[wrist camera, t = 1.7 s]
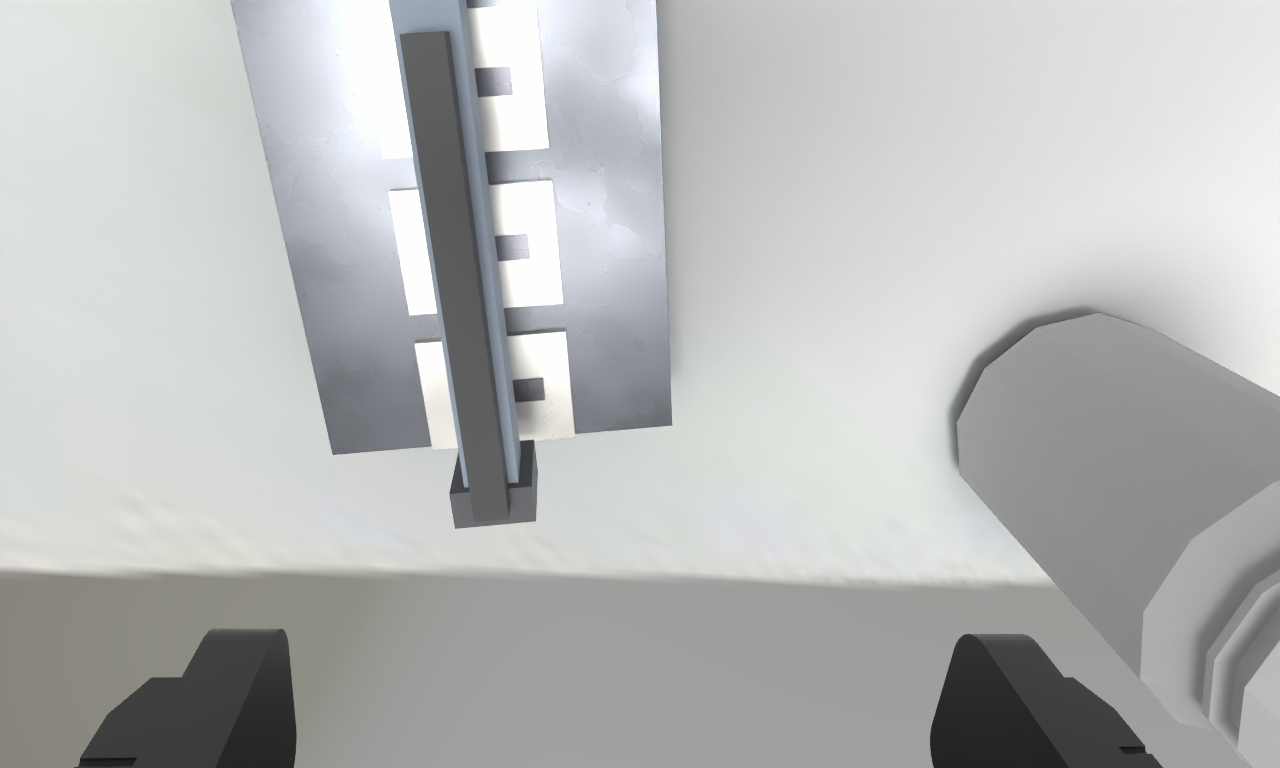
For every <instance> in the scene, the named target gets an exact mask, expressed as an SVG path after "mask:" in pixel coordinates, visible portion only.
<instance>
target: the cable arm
mask: <svg viewBox="0 0 1280 768" xmlns="http://www.w3.org/2000/svg"><path fill="white" fill-rule="evenodd" d="M388 2H389V8H390V14H391V21H392V27H393V34H394V40H395V47H396V53H397V59H398V66H399V72H400V79H401V85H402V91H403V98H404V104H405V111H406V117H407V124H408V130H409V136H410V143H411V149H412V156H413V162H414V168H415V175H416V181H417V188H418V194H419V201H420V207H421V213H422V220H423V226H424V233H425V239H426V245H427V252H428V258H429V265H430V271H431V278H432V284H433V290H434V297H435V303H436V310H437V316H438V322H439V329H440V335H441V342H442V348H443V355H444V361H445V367H446V374H447V380H448V387H449V393H450V399H451V406H452V412H453V419H454V425H455V432H456V438H457V444H458V451H459V452H458V457H457V461H456V466H455V471H454V475H453V480H452V485H451V489H450V501H451V507H452V513H453V519H454V525H455V529H457V528H468V527H478V526H489V525H500V524H511V523H521V522H532V521H536V504H537V476H538V470H537V461H536V453H535V444H534V440H522V441H520V439H519V431H518V422H517V414H516V406H515V398H514V389H513V381H512V373H511V365H510V356H509V348H508V340H507V332H506V324H505V315H504V307H503V299H502V291H501V282H500V274H499V266H498V258H497V249H496V241H495V233H494V225H493V217H492V208H491V200H490V192H489V184H488V175H487V167H486V159H485V151H484V143H483V134H482V126H481V118H480V110H479V101H478V93H477V85H476V77H475V68H474V60H473V52H472V44H471V36H470V27H469V19H468V11H467V3H466V0H388Z"/></svg>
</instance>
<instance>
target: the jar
mask: <svg viewBox="0 0 1280 768" xmlns="http://www.w3.org/2000/svg"><path fill="white" fill-rule="evenodd" d="M957 436H958V452H959V469H960V475H961V476H962V477H963V479H964V480H965V481H966V482H967V483H968V484H969V486H970V487H971V488H972V489H973V490H974V491H975V493H976V494H977V495H978V496H979V497H980V498H981V499H982V501H983V502H984V503H985V504H986V505H987V506H988V508H989V509H990V510H991V511H992V512H993V513H994V514H995V516H996V517H997V518H998V519H999V520H1000V521H1001V522H1002V524H1003V525H1004V526H1005V527H1006V528H1007V529H1008V530H1009V531H1010V533H1011V534H1012V535H1013V536H1014V537H1015V538H1016V539H1017V541H1018V542H1019V543H1020V544H1021V545H1022V546H1023V547H1024V548H1025V550H1026V551H1027V552H1028V553H1029V554H1030V555H1031V556H1032V558H1033V559H1034V560H1035V561H1036V562H1037V563H1038V564H1039V566H1040V567H1041V568H1042V569H1043V570H1044V571H1045V572H1046V573H1047V575H1048V576H1049V577H1050V578H1051V579H1052V580H1053V581H1054V583H1055V584H1056V585H1057V586H1058V587H1059V588H1060V589H1061V590H1062V592H1063V593H1064V594H1065V595H1066V596H1067V597H1068V598H1069V600H1070V601H1071V602H1072V603H1073V604H1074V605H1075V606H1076V607H1077V609H1078V610H1079V611H1080V612H1081V613H1082V614H1083V615H1084V617H1085V618H1086V619H1087V620H1088V621H1089V622H1090V623H1091V624H1092V626H1093V627H1094V628H1095V629H1096V630H1097V631H1098V632H1099V634H1100V635H1101V636H1102V637H1103V638H1104V639H1105V640H1106V641H1107V643H1108V644H1109V645H1110V646H1111V647H1112V648H1113V650H1114V651H1115V652H1116V653H1117V654H1118V655H1119V656H1120V657H1121V659H1122V660H1123V661H1124V662H1125V663H1126V664H1127V665H1128V667H1129V668H1130V669H1131V670H1132V671H1133V672H1134V673H1135V674H1136V675H1137V677H1138V678H1139V679H1140V680H1141V681H1142V682H1143V684H1144V685H1145V686H1146V687H1147V688H1148V689H1149V690H1150V692H1151V693H1152V694H1153V695H1154V696H1155V697H1156V698H1157V699H1158V701H1159V702H1160V703H1161V704H1162V705H1163V706H1164V707H1165V709H1166V710H1167V711H1168V712H1169V713H1170V714H1171V715H1172V716H1173V718H1174V719H1175V720H1176V721H1177V722H1178V723H1182V724H1187V725H1191V726H1196V727H1201V728H1205V729H1210V730H1214V731H1218V733H1219V734H1220V735H1221V736H1222V737H1223V738H1224V740H1225V741H1226V742H1227V743H1228V745H1229V746H1230V747H1231V748H1232V749H1233V751H1234V752H1235V753H1236V754H1237V755H1238V756H1239V757H1240V758H1241V759H1242V760H1247V761H1248V763H1249V764H1250V765H1251V766H1252V767H1253V768H1280V397H1279V396H1277V395H1276V394H1274V393H1272V392H1270V391H1268V390H1266V389H1264V388H1262V387H1260V386H1258V385H1257V384H1255V383H1253V382H1251V381H1249V380H1247V379H1245V378H1243V377H1241V376H1240V375H1238V374H1236V373H1234V372H1232V371H1230V370H1228V369H1226V368H1224V367H1223V366H1221V365H1219V364H1217V363H1215V362H1213V361H1211V360H1209V359H1207V358H1205V357H1204V356H1202V355H1200V354H1198V353H1196V352H1194V351H1192V350H1190V349H1188V348H1187V347H1185V346H1183V345H1181V344H1179V343H1177V342H1175V341H1173V340H1171V339H1170V338H1168V337H1166V336H1164V335H1162V334H1160V333H1158V332H1156V331H1154V330H1153V329H1150V328H1147V327H1144V326H1140V325H1137V324H1134V323H1131V322H1128V321H1125V320H1121V319H1118V318H1115V317H1112V316H1109V315H1105V314H1102V313H1095V314H1091V315H1086V316H1082V317H1078V318H1074V319H1069V320H1065V321H1061V322H1057V323H1052V324H1048V325H1044V326H1040V327H1036V328H1035V329H1034V330H1033V331H1031V332H1030V333H1029V334H1028V335H1026V336H1025V337H1024V338H1022V339H1021V340H1020V341H1019V342H1017V343H1016V344H1015V345H1014V346H1012V347H1011V348H1010V349H1008V350H1007V351H1006V352H1005V353H1003V354H1002V355H1001V356H999V357H998V358H997V359H996V360H994V361H993V362H992V363H991V364H989V365H988V366H987V367H985V368H984V370H983V372H982V374H981V376H980V378H979V380H978V382H977V384H976V386H975V388H974V390H973V392H972V394H971V396H970V398H969V400H968V402H967V404H966V405H965V407H964V409H963V411H962V413H961V415H960V417H959V419H958V421H957Z"/></svg>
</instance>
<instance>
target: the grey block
mask: <svg viewBox="0 0 1280 768" xmlns="http://www.w3.org/2000/svg"><path fill="white" fill-rule="evenodd" d="M230 1H231V5H232V10H233V14H234V18H235V23H236V27H237V32H238V36H239V41H240V45H241V50H242V54H243V58H244V63H245V67H246V72H247V76H248V81H249V85H250V89H251V94H252V98H253V103H254V107H255V112H256V116H257V121H258V125H259V129H260V134H261V138H262V143H263V147H264V152H265V156H266V160H267V165H268V169H269V174H270V178H271V183H272V187H273V192H274V196H275V200H276V205H277V209H278V214H279V218H280V223H281V227H282V231H283V236H284V240H285V245H286V249H287V254H288V258H289V263H290V267H291V271H292V276H293V280H294V285H295V289H296V294H297V298H298V302H299V307H300V311H301V316H302V320H303V325H304V329H305V334H306V338H307V342H308V347H309V351H310V356H311V360H312V365H313V369H314V373H315V378H316V382H317V387H318V391H319V396H320V400H321V404H322V409H323V413H324V418H325V422H326V427H327V431H328V436H329V440H330V444H331V449H332V453H333V455H337V454H348V453H360V452H371V451H383V450H394V449H406V448H417V447H429V446H432V450H439V449H451V448H458V444H457V438H456V432H455V425H454V419H453V412H452V406H451V399H450V393H449V387H448V380H447V374H446V367H445V361H444V355H443V348H442V342H441V335H440V329H439V322H438V316H437V310H436V303H435V297H434V290H433V284H432V278H431V271H430V265H429V258H428V252H427V245H426V239H425V233H424V226H423V220H422V213H421V207H420V201H419V194H418V188H417V181H416V175H415V168H414V162H413V156H412V149H411V143H410V136H409V130H408V124H407V117H406V111H405V104H404V98H403V91H402V85H401V79H400V72H399V66H398V59H397V53H396V47H395V40H394V34H393V27H392V21H391V14H390V8H389V2H388V0H230ZM466 3H467V11H468V19H469V27H470V36H471V44H472V52H473V60H474V68H475V77H476V85H477V93H478V101H479V110H480V118H481V126H482V134H483V143H484V151H485V159H486V167H487V175H488V184H489V192H490V200H491V208H492V217H493V225H494V233H495V241H496V249H497V258H498V266H499V274H500V282H501V291H502V299H503V307H504V315H505V324H506V332H507V340H508V348H509V356H510V365H511V373H512V381H513V389H514V398H515V406H516V414H517V422H518V431H519V439H520V441H522V440H534V441H543V440H554V439H566V438H575V434H578V433H590V432H601V431H613V430H624V429H636V428H648V427H659V426H671V425H672V410H671V384H670V358H669V331H668V305H667V279H666V252H665V226H664V200H663V174H662V147H661V121H660V95H659V68H658V42H657V16H656V0H466Z"/></svg>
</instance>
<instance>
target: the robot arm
mask: <svg viewBox="0 0 1280 768" xmlns="http://www.w3.org/2000/svg"><path fill="white" fill-rule="evenodd" d="M295 722H296V721H295V711H294V700H293V689H292V678H291V667H290V656H289V645H288V639H287V635H286V633H285V631H284V630H283V629H212V630H210V631H209V632H208V633H207V634H206V635H205V637H204V638H203V640H202V642H201V643H200V645H199V647H198V649H197V651H196V652H195V654H194V656H193V658H192V660H191V662H190V663H189V665H188V667H187V669H186V670H185V673H184V674H183V676H182V677H181V678H180V677H179V678H151V679H149V680H148V681H147V682H146V683H145V684H143V685H142V686H141V687H140V688H139V689H137V690H136V691H135V692H134V693H133V694H131V695H130V696H129V697H128V698H127V699H125V700H124V701H123V702H122V703H121V704H120V705H118V706H117V707H116V708H115V709H114V710H112V711H111V712H110V713H109V714H108V715H107V716H106V718H105V719H104V721H103V723H102V724H101V726H100V727H99V729H98V731H97V732H96V734H95V735H94V737H93V738H92V740H91V742H90V743H89V745H88V746H87V748H86V750H85V751H84V753H83V754H82V756H81V758H80V764H79V766H78V767H74V768H294V762H295V754H296V723H295ZM930 748H931V757H932V762H933V766H934V768H1163V767H1162V766H1161V765H1160V764H1159V763H1158V761H1157V760H1156V759H1155V758H1154V756H1153V755H1152V754H1147V753H1146V751H1145V745H1144V744H1143V743H1142V742H1141V741H1140V739H1139V738H1138V737H1137V736H1136V734H1135V733H1134V732H1133V731H1132V730H1131V728H1130V727H1129V726H1128V725H1127V724H1126V722H1125V721H1124V720H1123V719H1122V717H1121V716H1120V715H1119V714H1118V712H1117V711H1116V710H1115V709H1114V708H1113V707H1111V706H1110V705H1109V704H1107V703H1106V702H1105V701H1103V700H1102V699H1101V698H1099V697H1098V696H1097V695H1095V694H1094V693H1093V692H1091V691H1090V690H1089V689H1087V688H1086V687H1085V686H1084V685H1082V684H1081V683H1080V682H1078V681H1077V680H1076V679H1074V678H1064V677H1063V676H1062V674H1061V673H1060V672H1059V670H1058V669H1057V668H1056V667H1055V666H1054V664H1053V663H1052V661H1051V660H1050V659H1049V658H1048V656H1047V655H1046V654H1045V652H1044V651H1043V650H1042V649H1041V647H1040V646H1039V645H1038V644H1037V643H1036V642H1035V640H1033V639H1032V638H1031V637H1029V636H1027V635H1023V634H966V635H963V636H962V637H961V638H960V639H959V640H958V642H957V643H956V646H955V648H954V652H953V655H952V658H951V662H950V665H949V669H948V672H947V676H946V679H945V682H944V686H943V689H942V693H941V696H940V699H939V703H938V706H937V709H936V713H935V716H934V720H933V723H932V727H931V734H930Z"/></svg>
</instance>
